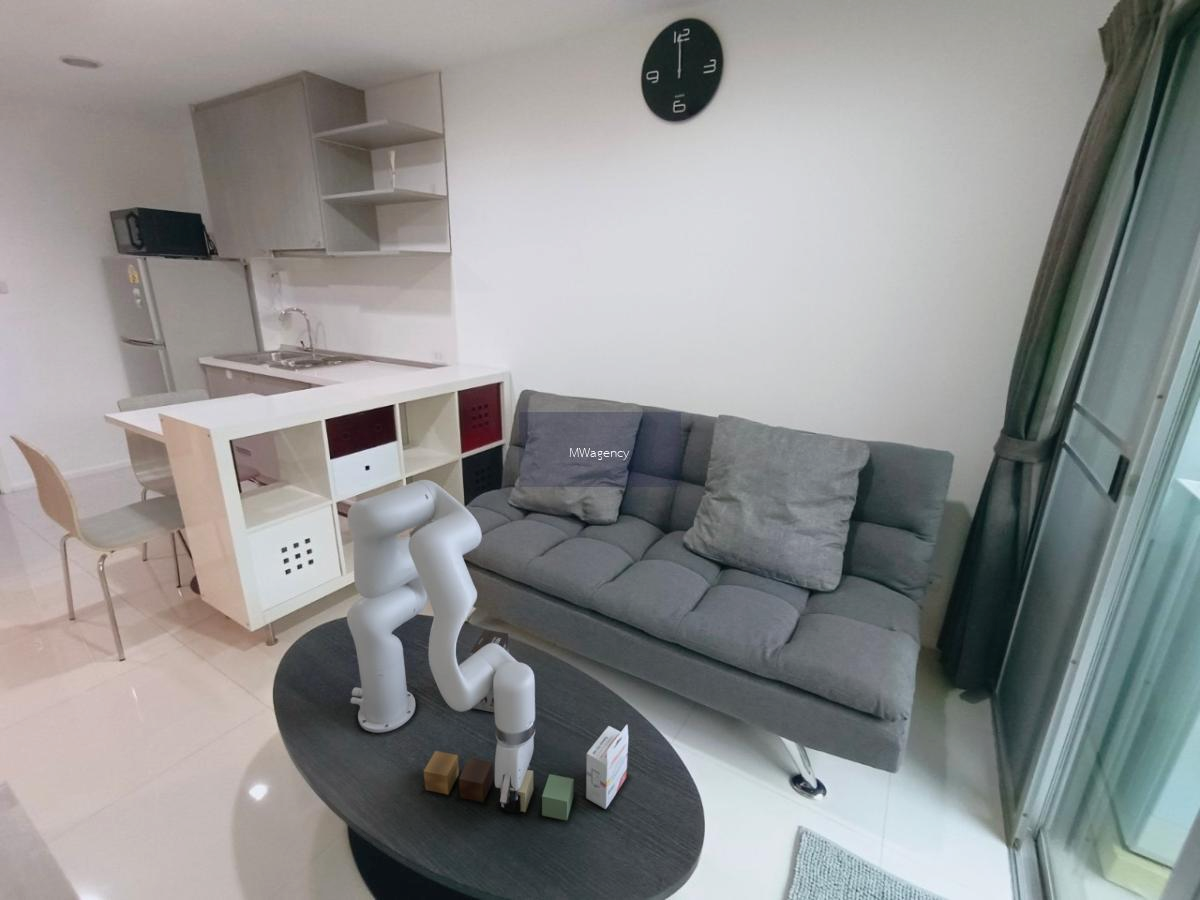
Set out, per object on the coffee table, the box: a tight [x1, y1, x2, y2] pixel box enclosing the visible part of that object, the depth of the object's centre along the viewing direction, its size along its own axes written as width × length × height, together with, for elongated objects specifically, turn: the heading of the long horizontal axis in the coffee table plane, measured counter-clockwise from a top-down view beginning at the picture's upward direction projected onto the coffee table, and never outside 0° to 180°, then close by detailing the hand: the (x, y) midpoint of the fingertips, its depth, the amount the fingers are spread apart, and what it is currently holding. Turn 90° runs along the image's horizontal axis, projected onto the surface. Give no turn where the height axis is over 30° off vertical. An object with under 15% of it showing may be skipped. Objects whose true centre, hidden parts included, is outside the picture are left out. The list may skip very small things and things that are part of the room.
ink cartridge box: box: [585, 724, 630, 810], centre depth 110 cm, size 9×5×15 cm, turn 148°
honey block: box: [423, 750, 460, 796], centre depth 112 cm, size 5×5×5 cm
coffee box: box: [469, 629, 510, 713], centre depth 132 cm, size 9×6×16 cm
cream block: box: [500, 769, 534, 813], centre depth 109 cm, size 5×5×5 cm
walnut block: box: [458, 757, 494, 803], centre depth 110 cm, size 5×5×5 cm
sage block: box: [541, 773, 575, 822], centre depth 107 cm, size 5×5×5 cm
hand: (517, 796), depth 109 cm, fingers closed on cream block, 5 cm apart
